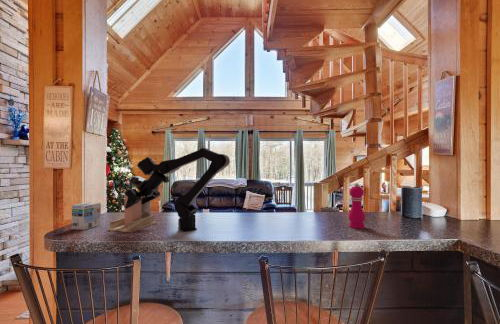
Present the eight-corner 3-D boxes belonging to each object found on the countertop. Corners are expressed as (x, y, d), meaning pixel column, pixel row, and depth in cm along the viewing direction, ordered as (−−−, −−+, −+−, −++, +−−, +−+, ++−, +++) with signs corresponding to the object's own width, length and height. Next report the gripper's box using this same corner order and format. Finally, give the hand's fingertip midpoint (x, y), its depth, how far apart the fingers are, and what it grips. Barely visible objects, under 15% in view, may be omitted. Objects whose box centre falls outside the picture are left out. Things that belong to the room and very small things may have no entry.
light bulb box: (84, 230, 123) (84, 205, 123) (70, 229, 125) (70, 205, 125) (101, 224, 134) (101, 202, 134) (89, 224, 135) (89, 201, 135)
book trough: (156, 223, 137) (156, 201, 137) (131, 232, 120) (131, 206, 120) (134, 221, 140) (134, 200, 140) (107, 230, 123) (107, 205, 123)
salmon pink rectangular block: (141, 223, 133) (141, 193, 133) (132, 226, 126) (132, 195, 126) (134, 223, 134) (134, 193, 134) (124, 226, 127) (124, 195, 127)
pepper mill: (347, 228, 126) (347, 183, 126) (348, 224, 133) (348, 182, 133) (365, 229, 123) (365, 183, 123) (365, 226, 130) (365, 182, 130)
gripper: (154, 169, 138) (135, 191, 141) (128, 170, 120) (107, 196, 122) (168, 185, 136) (149, 208, 138) (144, 189, 118) (122, 214, 120)
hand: (132, 206), depth 130 cm, fingers open, 9 cm apart
